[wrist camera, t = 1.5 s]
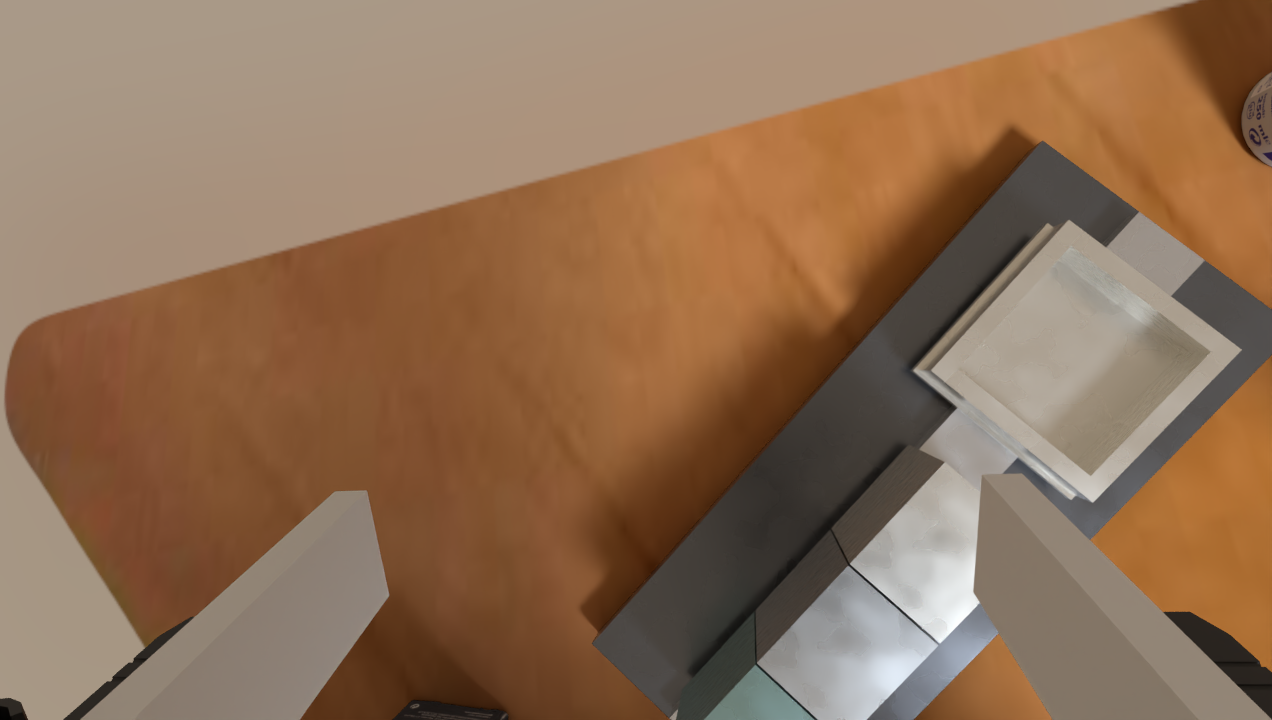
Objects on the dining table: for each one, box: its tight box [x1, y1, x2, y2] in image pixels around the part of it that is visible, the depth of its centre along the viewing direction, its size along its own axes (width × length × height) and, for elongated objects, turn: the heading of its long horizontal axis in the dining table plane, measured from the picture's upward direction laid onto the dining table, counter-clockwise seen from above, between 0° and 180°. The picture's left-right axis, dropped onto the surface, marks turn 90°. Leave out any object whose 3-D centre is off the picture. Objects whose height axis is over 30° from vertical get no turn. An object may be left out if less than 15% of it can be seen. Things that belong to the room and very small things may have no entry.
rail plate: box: [592, 141, 1272, 720], centre depth 30 cm, size 14×34×8 cm, turn 139°
